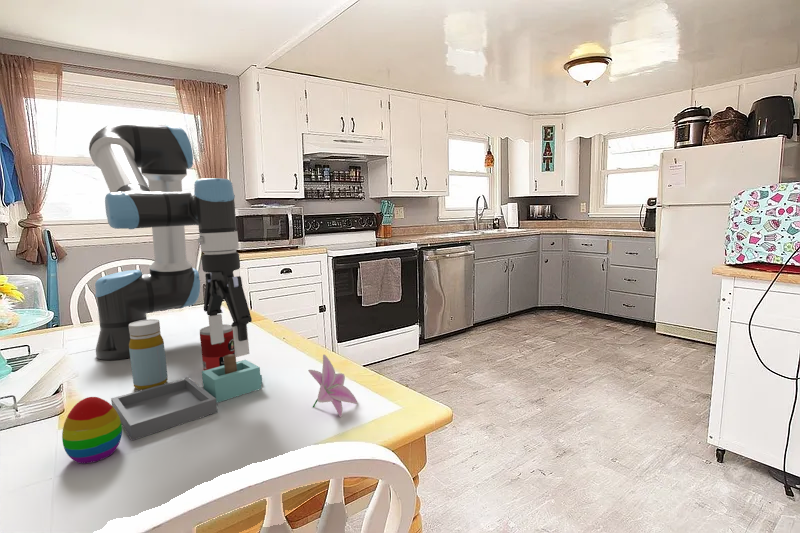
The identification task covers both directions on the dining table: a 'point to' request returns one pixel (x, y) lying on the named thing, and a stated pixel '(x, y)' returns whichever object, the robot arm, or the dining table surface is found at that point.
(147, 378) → the bottle
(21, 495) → the dining table surface
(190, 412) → the tray
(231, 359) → the post
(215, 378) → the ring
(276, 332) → the dining table surface
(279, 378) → the dining table surface
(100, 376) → the dining table surface
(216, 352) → the canned food
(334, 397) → the lily
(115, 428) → the decorative egg
